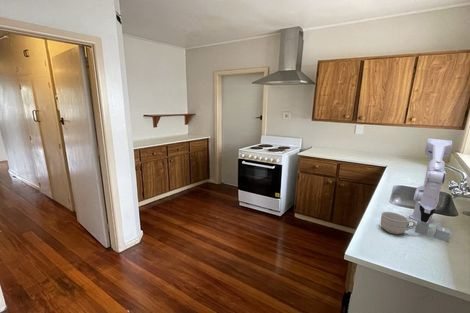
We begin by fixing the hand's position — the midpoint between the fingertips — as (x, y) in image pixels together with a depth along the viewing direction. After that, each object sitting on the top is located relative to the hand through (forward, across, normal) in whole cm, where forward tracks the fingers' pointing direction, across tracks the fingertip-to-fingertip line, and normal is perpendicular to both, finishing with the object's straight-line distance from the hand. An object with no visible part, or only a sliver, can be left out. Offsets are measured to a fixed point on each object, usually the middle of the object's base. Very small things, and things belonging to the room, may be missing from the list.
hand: (423, 221), depth 110 cm
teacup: (+6, +9, -10) cm, 14 cm away
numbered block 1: (+6, 0, +7) cm, 9 cm away
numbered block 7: (+6, 0, -7) cm, 9 cm away
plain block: (+6, 0, 0) cm, 6 cm away
